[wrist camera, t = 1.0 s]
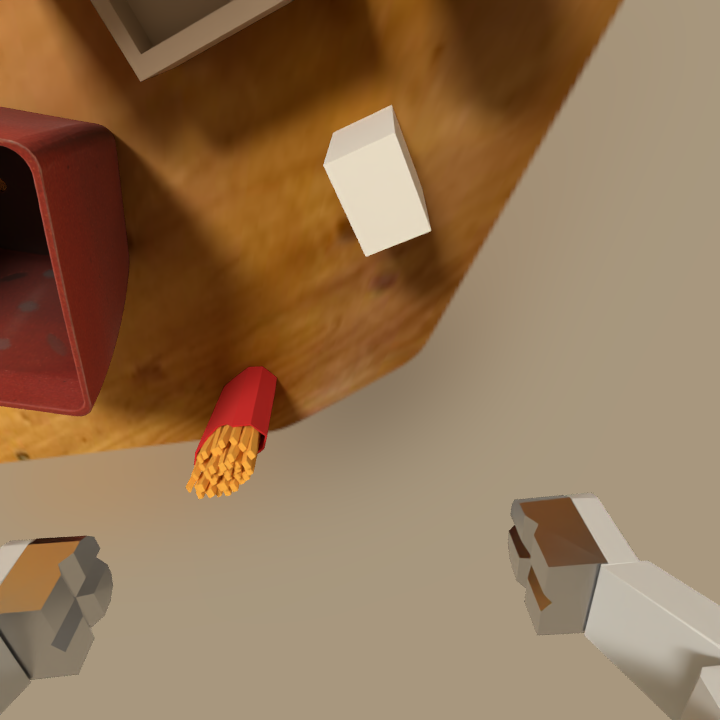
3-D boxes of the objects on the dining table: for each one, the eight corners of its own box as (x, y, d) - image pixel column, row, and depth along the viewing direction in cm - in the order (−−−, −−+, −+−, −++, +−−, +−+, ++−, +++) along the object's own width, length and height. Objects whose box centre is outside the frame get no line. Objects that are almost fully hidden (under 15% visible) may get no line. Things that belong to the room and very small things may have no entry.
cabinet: (391, 104, 38) (394, 132, 31) (422, 189, 42) (431, 231, 35) (333, 132, 40) (323, 165, 32) (368, 211, 43) (366, 256, 36)
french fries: (261, 355, 53) (232, 445, 43) (290, 379, 55) (269, 470, 45) (208, 397, 57) (170, 489, 47) (237, 418, 59) (207, 511, 48)
